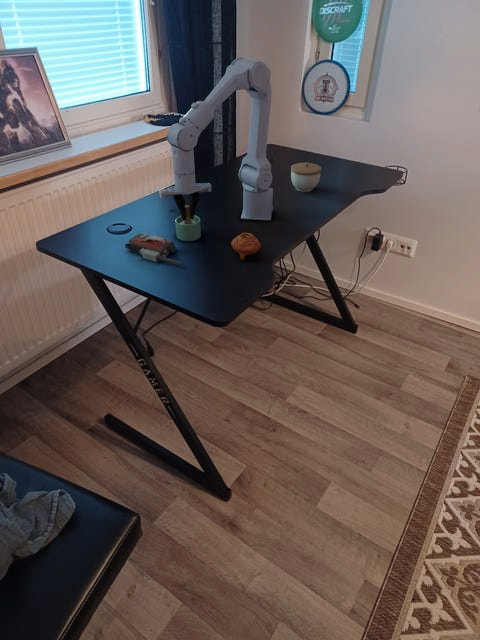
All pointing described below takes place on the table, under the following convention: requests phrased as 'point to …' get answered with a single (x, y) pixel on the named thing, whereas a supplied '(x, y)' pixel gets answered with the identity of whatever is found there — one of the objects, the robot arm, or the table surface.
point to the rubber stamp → (187, 217)
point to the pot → (245, 244)
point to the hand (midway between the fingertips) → (187, 218)
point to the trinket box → (305, 176)
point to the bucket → (188, 229)
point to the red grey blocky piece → (152, 248)
